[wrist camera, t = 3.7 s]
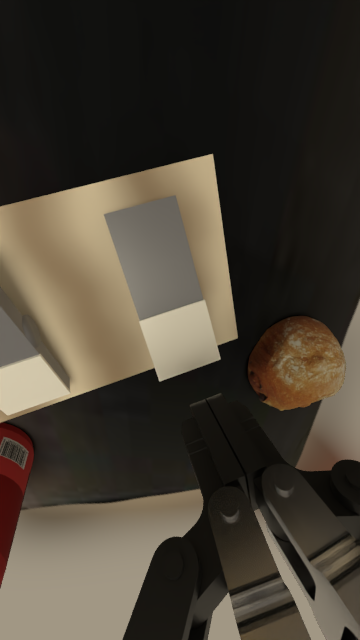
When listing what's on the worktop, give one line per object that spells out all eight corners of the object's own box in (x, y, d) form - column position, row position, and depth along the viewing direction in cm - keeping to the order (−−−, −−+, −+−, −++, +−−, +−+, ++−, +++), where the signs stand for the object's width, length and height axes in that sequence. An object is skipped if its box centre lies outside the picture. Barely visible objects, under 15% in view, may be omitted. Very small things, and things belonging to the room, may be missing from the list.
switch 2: (170, 203, 16) (177, 194, 14) (210, 348, 18) (220, 359, 16) (105, 220, 15) (102, 214, 13) (155, 368, 18) (159, 381, 16)
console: (191, 161, 18) (212, 153, 15) (219, 320, 25) (238, 341, 21) (-115, 238, 16) (-176, 250, 12) (3, 394, 22) (-15, 431, 19)
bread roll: (304, 342, 34) (374, 353, 27) (272, 413, 32) (340, 444, 25) (263, 298, 30) (336, 298, 23) (222, 378, 27) (290, 404, 20)
